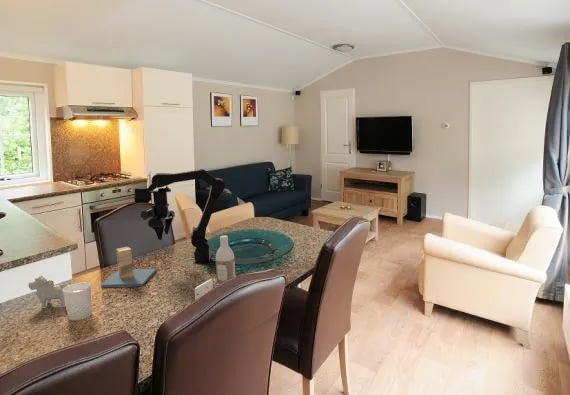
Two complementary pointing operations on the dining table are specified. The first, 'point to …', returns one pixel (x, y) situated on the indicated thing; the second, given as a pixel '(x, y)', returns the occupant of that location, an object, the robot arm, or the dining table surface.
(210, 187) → the robot arm
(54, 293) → the grey animal figurine
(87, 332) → the dining table surface
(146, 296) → the dining table surface
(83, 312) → the white cup
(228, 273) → the bath foam
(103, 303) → the dining table surface
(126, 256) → the oak block
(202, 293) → the white angled block
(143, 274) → the rubber mat
